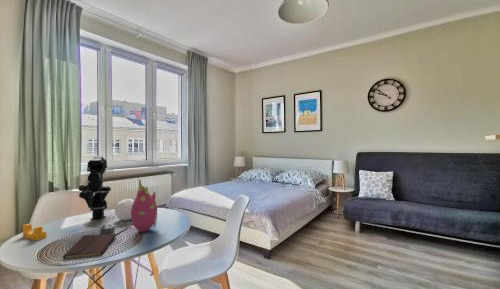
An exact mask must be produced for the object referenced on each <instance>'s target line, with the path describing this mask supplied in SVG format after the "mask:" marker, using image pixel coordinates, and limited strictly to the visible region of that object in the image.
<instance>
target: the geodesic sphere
mask: <svg viewBox="0 0 500 289" xmlns="http://www.w3.org/2000/svg"><path fill="white" fill-rule="evenodd" d="M134 200H135V199H133V198H125V199H121V200H120V201H119V202H117V204H116V205H115V207H114V215H115V216H116V218H117V219H118V220H121V221H123V222H125V221H130V220H132V219H131V209H132V205H133V202H134Z"/></svg>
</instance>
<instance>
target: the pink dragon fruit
mask: <svg viewBox="0 0 500 289" xmlns="http://www.w3.org/2000/svg"><path fill="white" fill-rule="evenodd" d="M141 181H142V180H141V179H139V180H138V190H137V192H136V196H135V198H134V199H133V200H134V202H133V205H132V209H131V219H130V220H131V223H132V225H133V226H134V229H136V230H137V231H139V232H141V233H143V232H147V231H149V230H150V229H151V228H153V229H154V228H155V227H156V225H157V220H158V213H157V212H158V205H157V202H156V196H157V195H156V192H155V191H153V193H152V195H151V193H150V192H149V190H148V187H147V186H146V187H145V186H144V185H142V183H141Z"/></svg>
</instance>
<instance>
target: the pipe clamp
mask: <svg viewBox="0 0 500 289" xmlns="http://www.w3.org/2000/svg"><path fill="white" fill-rule="evenodd" d="M22 237H23V238H26V239H30V240H33V241H39V240H42V239H44V238H45V239H46V238H47V231H46V230H43V226H41V225H39V226H35V227H33V228H32V224H31V223H26V224H22Z"/></svg>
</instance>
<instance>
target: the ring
mask: <svg viewBox="0 0 500 289" xmlns="http://www.w3.org/2000/svg"><path fill="white" fill-rule="evenodd" d="M105 226H110V227H109V228H105ZM114 227H115V224H105V225H102V226H100V227H99V229H100V234H110V233H112V232H114Z"/></svg>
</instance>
